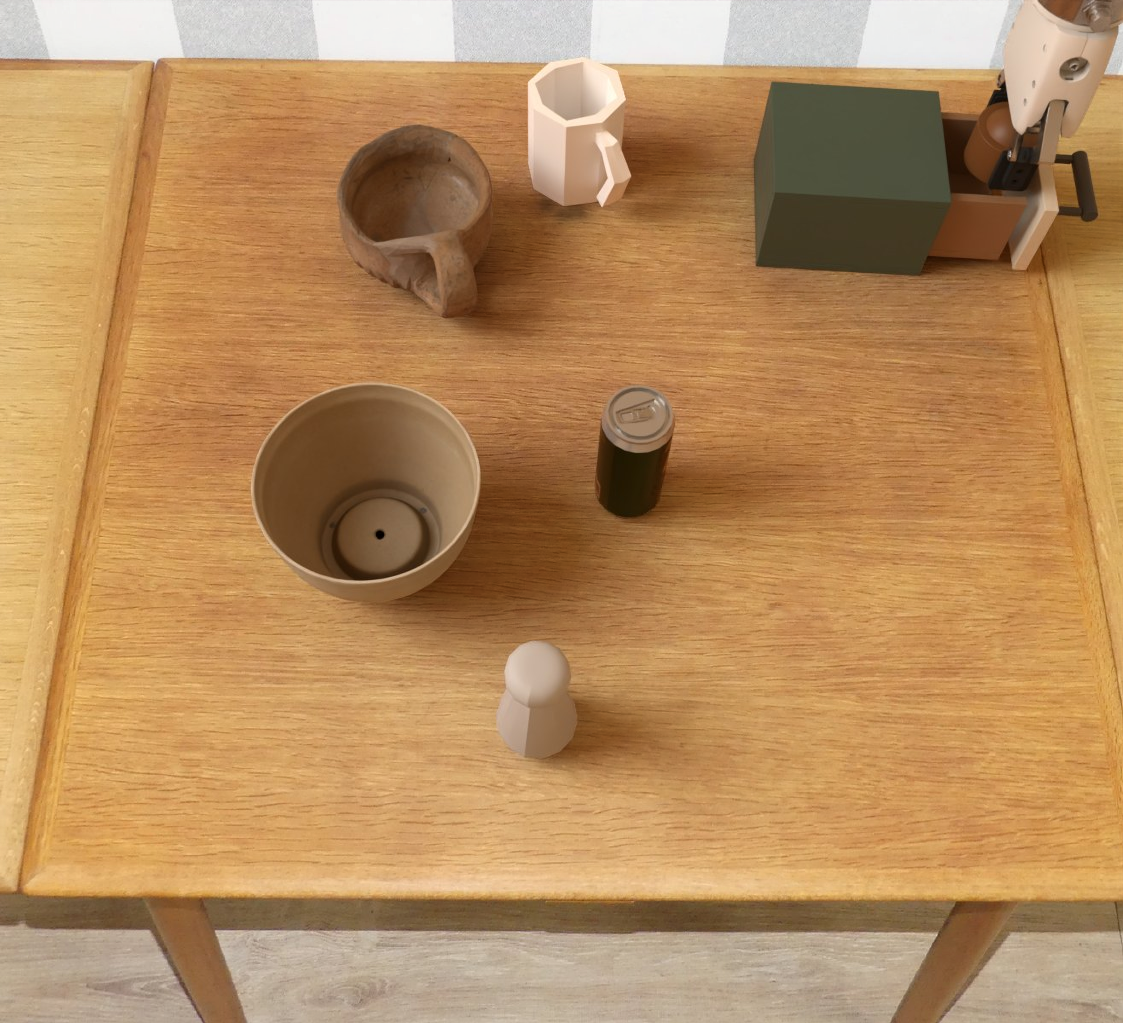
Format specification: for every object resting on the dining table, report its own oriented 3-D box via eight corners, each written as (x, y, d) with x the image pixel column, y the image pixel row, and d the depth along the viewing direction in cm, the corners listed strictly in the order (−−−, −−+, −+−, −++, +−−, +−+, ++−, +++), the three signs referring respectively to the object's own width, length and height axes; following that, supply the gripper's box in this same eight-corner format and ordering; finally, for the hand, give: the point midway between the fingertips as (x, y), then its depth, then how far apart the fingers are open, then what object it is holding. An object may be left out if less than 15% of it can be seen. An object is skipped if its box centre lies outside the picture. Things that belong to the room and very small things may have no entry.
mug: (511, 161, 114) (509, 80, 105) (588, 125, 116) (592, 43, 108) (581, 247, 110) (585, 170, 101) (659, 208, 112) (670, 129, 103)
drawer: (1062, 175, 114) (1096, 113, 107) (1078, 273, 108) (1116, 214, 102) (866, 164, 114) (888, 101, 107) (873, 261, 109) (897, 201, 102)
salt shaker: (481, 717, 90) (474, 655, 78) (545, 675, 91) (548, 608, 80) (526, 782, 87) (526, 728, 76) (591, 738, 89) (600, 678, 77)
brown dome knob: (1029, 136, 106) (1052, 91, 101) (1037, 189, 103) (1061, 145, 99) (960, 132, 106) (980, 86, 102) (966, 185, 103) (987, 140, 99)
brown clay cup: (569, 274, 107) (544, 214, 97) (441, 373, 106) (405, 323, 97) (455, 146, 113) (422, 78, 103) (335, 239, 112) (290, 180, 103)
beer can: (603, 528, 97) (612, 452, 86) (587, 470, 99) (593, 389, 89) (668, 514, 98) (685, 438, 87) (650, 457, 100) (665, 376, 89)
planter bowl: (298, 664, 91) (271, 607, 81) (263, 480, 98) (234, 408, 88) (507, 612, 93) (505, 551, 84) (459, 436, 100) (451, 361, 91)
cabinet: (908, 169, 115) (939, 91, 106) (919, 276, 109) (952, 202, 101) (753, 159, 115) (771, 81, 106) (755, 266, 109) (774, 192, 101)
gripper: (1159, 69, 84) (1058, 239, 100) (1121, -96, 92) (1033, 86, 108) (1050, 62, 84) (967, 234, 101) (1021, -102, 92) (948, 81, 108)
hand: (1002, 156), depth 104 cm, fingers closed on brown dome knob, 6 cm apart
